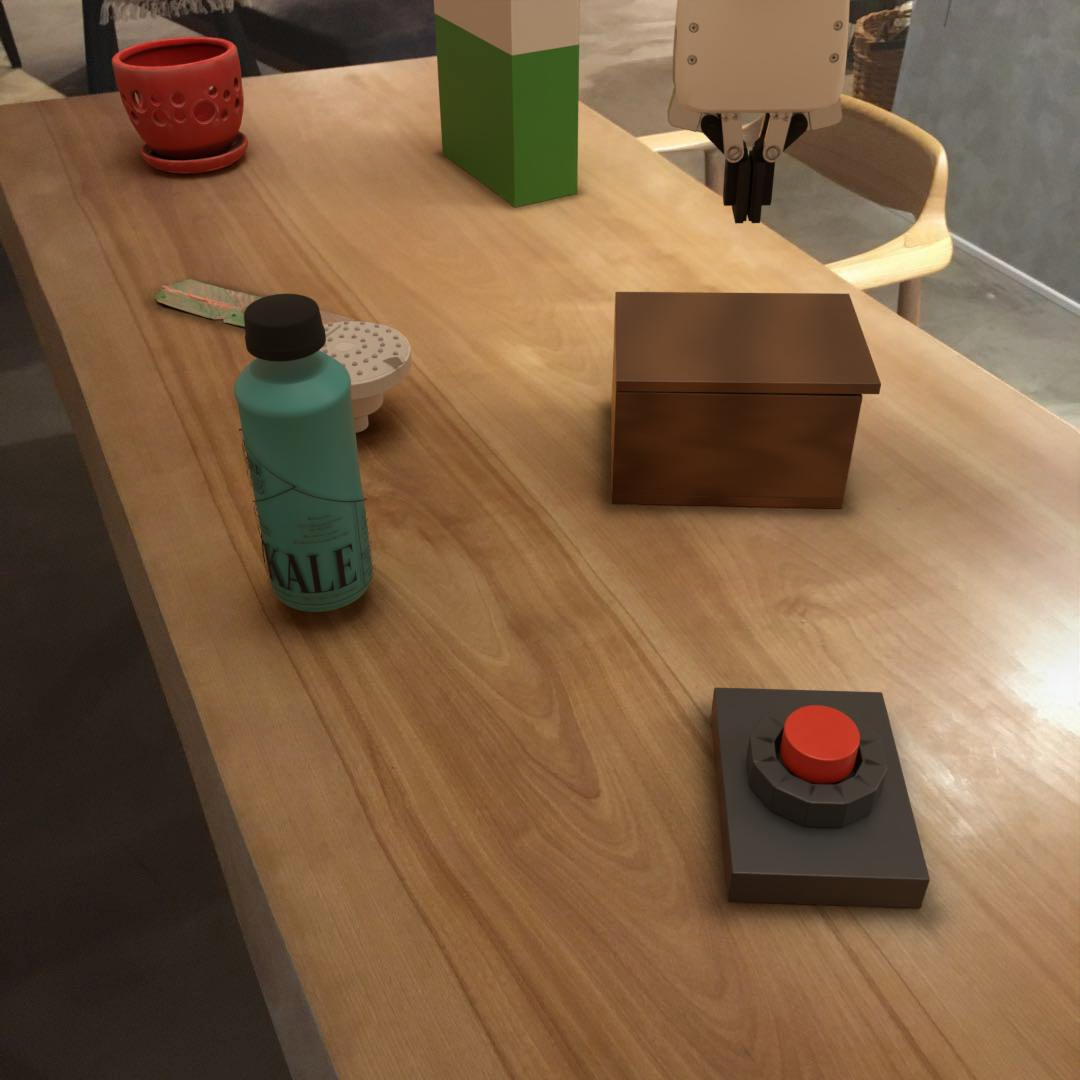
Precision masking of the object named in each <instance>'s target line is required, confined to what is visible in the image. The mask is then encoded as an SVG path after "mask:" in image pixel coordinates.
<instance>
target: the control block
mask: <svg viewBox="0 0 1080 1080" xmlns="http://www.w3.org/2000/svg"><path fill="white" fill-rule="evenodd" d="M812 705H819V706H826V707H830V708H833V709H836V710H838V711H840V712H842V713H844V714H845V715H847V716H848V717H849V718H850V719H851V720H852V721H853V722H854V723H855V725H856V726H857V728H858V731H859V734H860V743H859V747H858V752H857V756H856V760H855V764H854V768H853V770H852V772H851V773H850V774H849V775H848V776H847V777H846V778H844V779H843V780H841V781H838V782H836V783H831V784H816V783H811V782H808V781H805V780H803V779H801V778H799V777H797V776H795V775H794V774H793V773H792V772H790V771H789V770H788V769H787V767H786V766H785V765H784V763H783V761H782V758H781V755H780V747H781V741H782V735H783V730H784V724H785V721H786V719H787V718H788V716H789V715H790V714H791V713H792V712H794V711H795V710H797V709H799V708H802V707H805V706H812ZM710 710H711V711H710V721H711V732H712V744H713V753H714V762H715V763H714V766H715V776H716V777H715V778H716V787H717V799H718V808H719V809H718V810H719V818H720V820H719V821H720V829H721V831H720V832H721V840H722V851H723V862H724V875H725V884H726V895H727V901H728V902H739V903H740V902H741V903H742V902H743V903H768V904H769V903H771V904H795V905H796V904H797V905H825V906H827V905H828V906H851V907H852V906H853V907H854V906H855V907H881V908H883V907H885V908H906V909H907V908H910V909H911V908H912V909H913V908H914V909H921V908H922V905H923V902H924V900H925V896H926V893H927V890H928V887H929V883H930V881H931V880H930V875H929V870H928V867H927V863H926V859H925V856H924V852H923V847H922V844H921V840H920V836H919V832H918V828H917V824H916V820H915V816H914V812H913V808H912V805H911V804H912V803H911V800H910V796H909V793H908V788H907V784H906V781H905V776H904V773H903V769H902V765H901V761H900V757H899V754H898V749H897V745H896V741H895V738H894V734H893V730H892V726H891V721H890V718H889V714H888V709H887V705H886V702H885V697H884V694H883V692H882V691H855V690H854V691H853V690H821V689H820V690H819V689H817V690H816V689H785V688H784V689H783V688H781V689H780V688H749V687H748V688H746V687H714V688H713V693H712V701H711V709H710Z"/></svg>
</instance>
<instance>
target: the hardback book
mask: <svg viewBox="0 0 1080 1080" xmlns="http://www.w3.org/2000/svg"><path fill="white" fill-rule="evenodd" d="M433 9H434V11H433V12H434V13H433V14H434V30H435V46H436V47H435V48H436V59H437V60H436V62H437V81H438V83H437V84H438V97H439V98H438V99H439V114H440V115H439V117H440V133H441V150H442V155H443V156H445V157H446V158H448V159H449V160H450V161H452V162H453V164H456V165H457V166H459V167H460V168H461V169H462V170H464V171H465V172H467V173H468V174H469V175H470V176H472V177H474V178H475V179H476V180H478V182H480V183H481V184H483V185H484V186H486V187H487V188H488V189H489V190H490V191H492V192H494V193H495V194H496V195H498V196H499V197H500V198H502V199H503V200H505V201H506V202H507V203H508V204H510V205H511V206H512V207H514V208H517V207H522V206H527V205H531V204H535V203H540V202H544V201H549V200H554V199H558V198H563V197H568V196H572V195H576V194H578V170H579V168H578V167H579V165H578V162H579V161H578V160H579V158H578V157H579V97H580V93H579V91H580V32H581V31H580V28H581V26H580V24H581V23H580V22H581V21H580V20H581V0H433Z"/></svg>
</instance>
